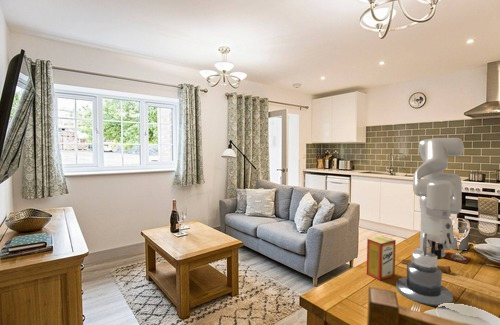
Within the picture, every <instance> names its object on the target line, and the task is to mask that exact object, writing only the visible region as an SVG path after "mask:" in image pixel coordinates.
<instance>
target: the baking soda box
mask: <svg viewBox="0 0 500 325" xmlns="http://www.w3.org/2000/svg"><path fill="white" fill-rule="evenodd" d="M366 243H367V244H366V245H367V246H366V247H367V248H366V275H367V276H369V277H371V278H373V279H375V280H377V281H379V282H380V281H383V280H387V279H390V278H392V277H395V276H396V275H395V274H396V273H395V272H396V244H397V243H396V239H392V238H391V237H387V236H383V235H379V236H376V237H370V238H367V242H366Z"/></svg>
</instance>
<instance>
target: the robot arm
mask: <svg viewBox="0 0 500 325" xmlns="http://www.w3.org/2000/svg"><path fill="white" fill-rule="evenodd" d="M464 150H465V146H464V142H463V140H462V139H461V138H459V137H433V138H426V139H422V140H419V142H418V152H419V155H420V158H421V160H422V164H420V166H418V167H417V168H416V170H415V171H414V174H413V178H412V191H413V193H414V195H416V196H417V197H419V208H420V209H419V210H420V231H419V232H420V235H419V240H420V241H419V246H417V247H416V250H422V251H423V233H427V247H430V252H431V253H433V254H435V255H437V261H438V260H442V258H444V257H446V252H445V251H450V250H451V248H450V244H452V243H453V225H452V221H453V220H452V219H451V218H450V217H451V216H452V215H457V214H460V213H461V211H462V202H463V200H462V197H463V196H462V193H463V192H462V190H463V189H462V186H463V185H462V184H463V183H462V178H461V176H460V175H458V174H457V173H448V172H444V170H446V169H447V168H448V166H449V159H448V157H452V156H453V157H460V156H462V155H463V154H464Z"/></svg>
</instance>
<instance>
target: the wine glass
mask: <svg viewBox="0 0 500 325" xmlns="http://www.w3.org/2000/svg"><path fill="white" fill-rule="evenodd" d="M469 234H470V233H469ZM469 234H468V236H467V237H466V238H465V239H463V240H462V241H461V242H460V245H459V250H457V240H456V238H454V236H453V243H452V244H450V250H451V249H452V250H457V251H461V250H465V249H468V250H469Z"/></svg>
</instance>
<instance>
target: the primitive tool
mask: <svg viewBox="0 0 500 325" xmlns="http://www.w3.org/2000/svg"><path fill="white" fill-rule="evenodd" d="M409 262H412V260H410V259H405V258H404V259H402V260H401V261H400V264H401V265H402V264H403V265H406V266H407V264H408V263H409ZM437 267H438V268H439V269H440V270H441V271H442V273H445V274H447V275H451V273H452V270H451V266H449V265H448V266H442V265H438V264H437Z"/></svg>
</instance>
